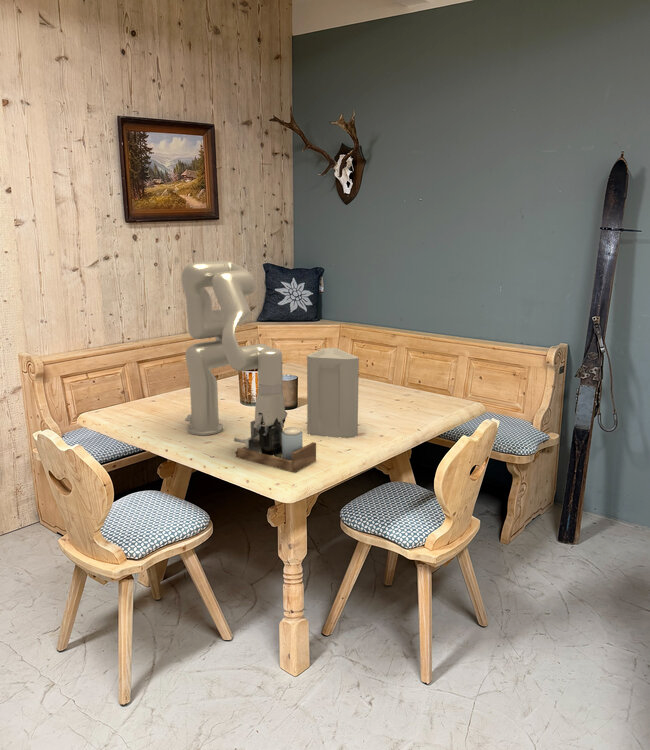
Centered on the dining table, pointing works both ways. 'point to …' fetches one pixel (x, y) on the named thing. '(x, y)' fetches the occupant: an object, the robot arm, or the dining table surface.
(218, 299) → the robot arm
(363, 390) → the dining table surface
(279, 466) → the brown wooden open box
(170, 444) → the dining table surface
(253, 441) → the pusher
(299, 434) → the blue jar
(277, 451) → the supplement bottle
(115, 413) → the dining table surface
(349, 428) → the grey corner cabinet
